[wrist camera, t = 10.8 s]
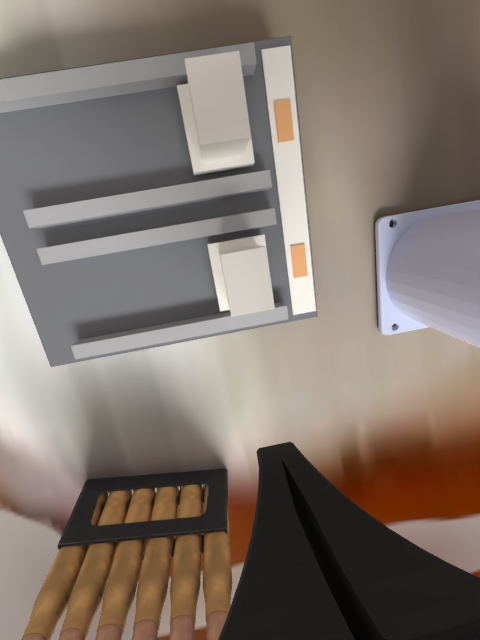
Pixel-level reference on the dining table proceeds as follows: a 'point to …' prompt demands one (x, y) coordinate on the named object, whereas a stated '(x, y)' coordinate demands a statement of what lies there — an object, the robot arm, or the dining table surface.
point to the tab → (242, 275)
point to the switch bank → (146, 203)
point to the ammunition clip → (140, 558)
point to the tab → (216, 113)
